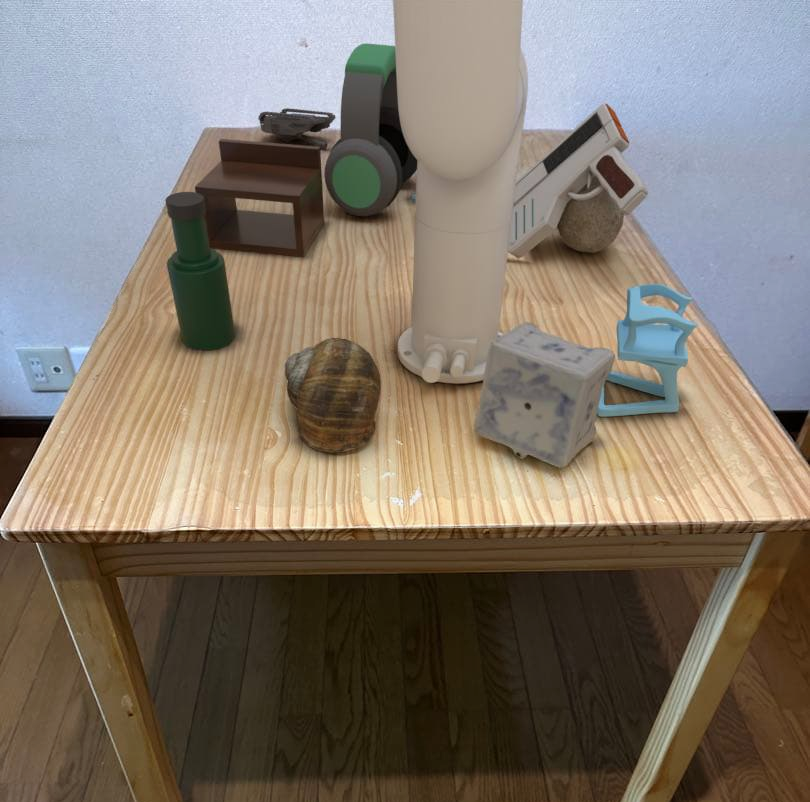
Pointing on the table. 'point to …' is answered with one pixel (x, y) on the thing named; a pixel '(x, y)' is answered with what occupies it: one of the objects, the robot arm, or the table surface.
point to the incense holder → (541, 394)
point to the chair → (651, 349)
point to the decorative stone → (590, 221)
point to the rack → (264, 197)
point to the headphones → (369, 135)
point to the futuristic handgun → (574, 179)
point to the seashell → (334, 394)
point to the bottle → (198, 277)
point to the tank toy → (295, 124)
